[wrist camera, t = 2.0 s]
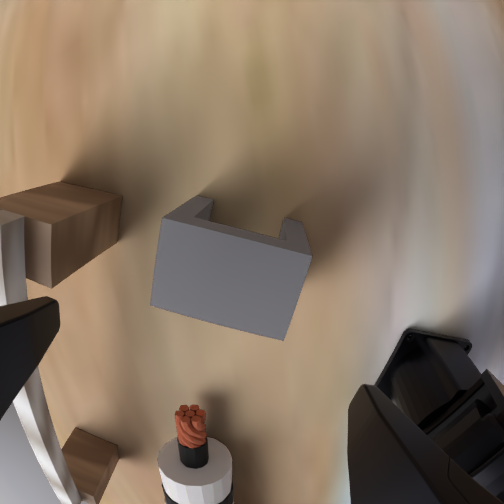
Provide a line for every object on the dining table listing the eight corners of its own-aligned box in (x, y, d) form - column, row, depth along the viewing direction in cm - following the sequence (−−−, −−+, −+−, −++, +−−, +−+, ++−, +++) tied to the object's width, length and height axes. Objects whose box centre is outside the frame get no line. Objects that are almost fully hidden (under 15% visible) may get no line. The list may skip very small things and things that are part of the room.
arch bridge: (59, 181, 18) (-40, 210, 10) (122, 195, 18) (27, 235, 10) (78, 442, 27) (47, 496, 19) (118, 459, 27) (92, 518, 19)
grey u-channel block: (196, 195, 18) (162, 217, 12) (301, 222, 18) (312, 256, 12) (184, 260, 19) (150, 305, 14) (282, 286, 19) (283, 340, 14)
